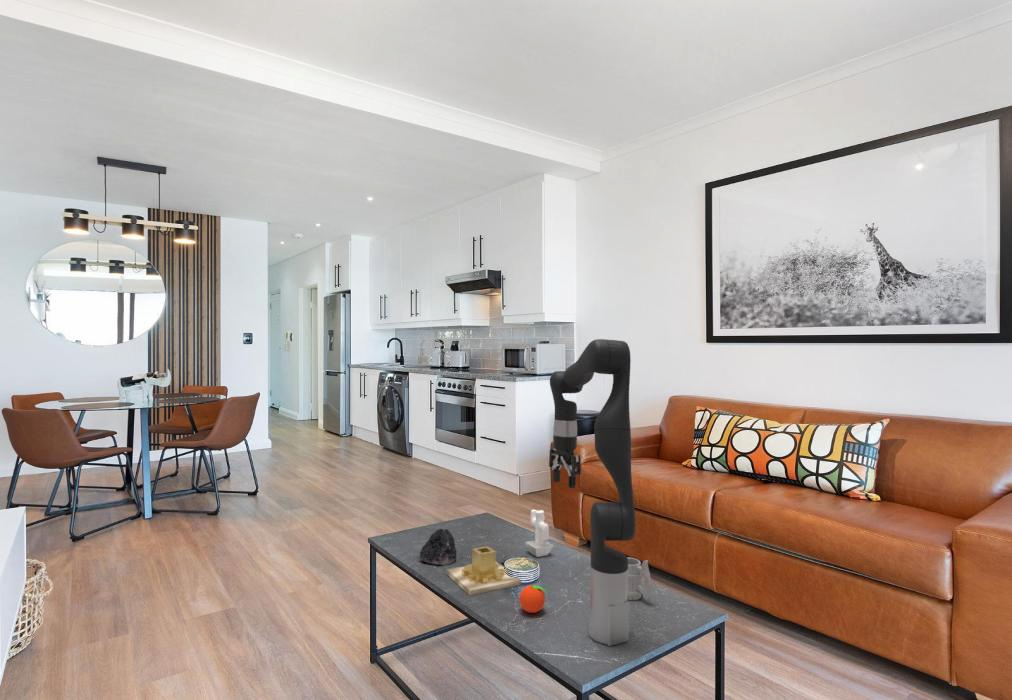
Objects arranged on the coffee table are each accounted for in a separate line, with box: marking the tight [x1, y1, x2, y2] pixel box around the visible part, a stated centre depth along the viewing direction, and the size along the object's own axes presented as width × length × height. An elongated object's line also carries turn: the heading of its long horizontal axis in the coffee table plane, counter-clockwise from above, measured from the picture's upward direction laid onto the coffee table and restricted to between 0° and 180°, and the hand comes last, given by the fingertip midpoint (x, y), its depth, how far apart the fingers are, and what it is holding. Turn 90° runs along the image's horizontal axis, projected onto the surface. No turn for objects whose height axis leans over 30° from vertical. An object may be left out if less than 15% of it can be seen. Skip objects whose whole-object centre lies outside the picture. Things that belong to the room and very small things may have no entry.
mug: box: [626, 556, 653, 601], centre depth 165 cm, size 8×12×12 cm, turn 37°
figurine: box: [524, 509, 554, 558], centre depth 198 cm, size 7×9×15 cm
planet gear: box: [462, 545, 505, 584], centre depth 175 cm, size 12×12×8 cm
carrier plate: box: [446, 561, 522, 596], centre depth 175 cm, size 17×17×8 cm
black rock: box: [419, 528, 457, 566], centre depth 191 cm, size 13×14×10 cm
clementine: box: [519, 584, 549, 614], centre depth 155 cm, size 8×7×7 cm
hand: (563, 484), depth 182 cm, fingers open, 8 cm apart
